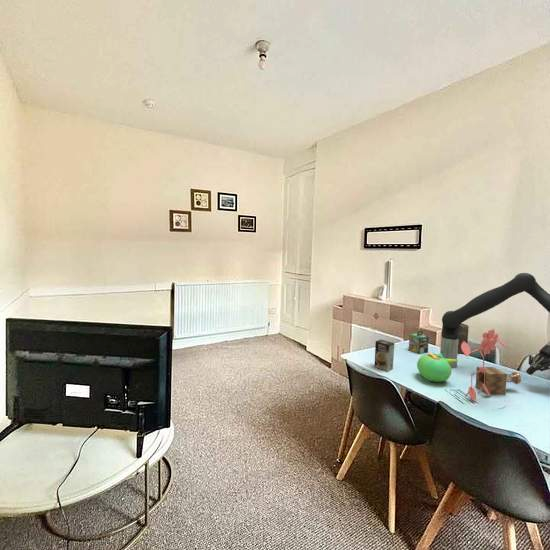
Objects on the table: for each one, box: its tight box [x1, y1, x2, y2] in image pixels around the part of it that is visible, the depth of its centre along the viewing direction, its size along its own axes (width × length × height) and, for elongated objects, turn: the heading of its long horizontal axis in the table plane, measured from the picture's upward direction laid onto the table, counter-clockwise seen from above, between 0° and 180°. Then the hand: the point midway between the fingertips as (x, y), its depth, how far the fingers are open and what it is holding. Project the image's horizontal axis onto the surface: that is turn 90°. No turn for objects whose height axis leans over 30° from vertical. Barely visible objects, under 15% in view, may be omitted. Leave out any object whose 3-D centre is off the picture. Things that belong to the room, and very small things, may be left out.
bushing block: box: [474, 366, 508, 396], centre depth 160 cm, size 9×9×11 cm
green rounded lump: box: [416, 352, 459, 383], centre depth 172 cm, size 18×17×15 cm
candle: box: [457, 322, 469, 354], centre depth 216 cm, size 8×7×20 cm
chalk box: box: [408, 330, 430, 355], centre depth 218 cm, size 9×9×15 cm
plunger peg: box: [506, 371, 522, 385], centre depth 160 cm, size 12×6×6 cm, turn 92°
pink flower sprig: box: [456, 328, 508, 410], centre depth 147 cm, size 15×26×35 cm, turn 113°
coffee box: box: [374, 339, 395, 373], centre depth 188 cm, size 9×6×16 cm
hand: (528, 373), depth 161 cm, fingers closed
